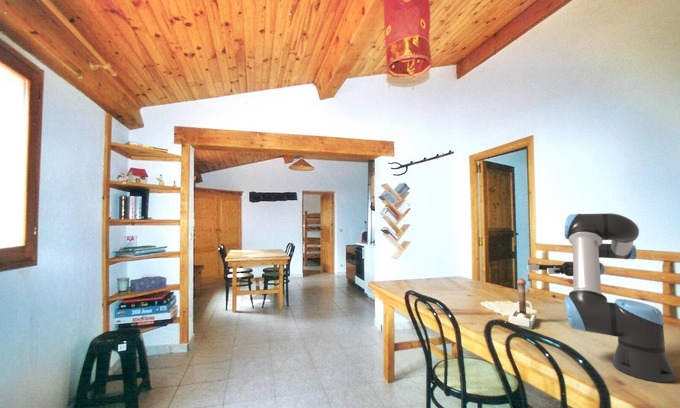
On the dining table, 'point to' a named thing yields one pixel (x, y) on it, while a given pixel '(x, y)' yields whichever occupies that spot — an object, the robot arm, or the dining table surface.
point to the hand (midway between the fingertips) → (537, 269)
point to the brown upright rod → (522, 298)
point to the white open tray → (522, 320)
